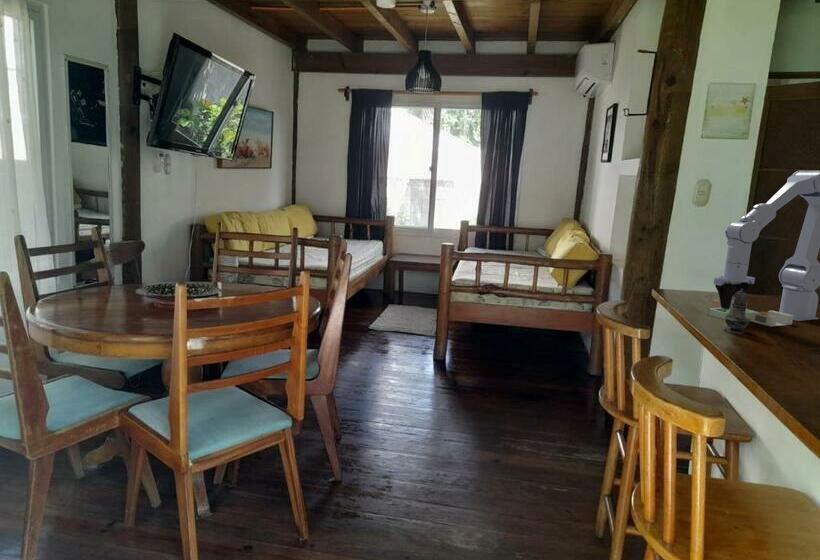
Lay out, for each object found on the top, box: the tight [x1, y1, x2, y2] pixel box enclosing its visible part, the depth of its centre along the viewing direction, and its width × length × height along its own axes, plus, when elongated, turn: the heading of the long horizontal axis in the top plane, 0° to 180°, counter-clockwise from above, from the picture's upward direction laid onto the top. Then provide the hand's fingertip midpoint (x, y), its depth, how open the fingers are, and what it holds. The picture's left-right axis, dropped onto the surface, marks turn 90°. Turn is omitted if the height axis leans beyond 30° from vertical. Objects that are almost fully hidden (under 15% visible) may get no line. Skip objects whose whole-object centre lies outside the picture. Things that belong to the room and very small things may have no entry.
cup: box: [710, 299, 748, 309], centre depth 165 cm, size 7×7×3 cm
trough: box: [706, 307, 757, 321], centre depth 157 cm, size 12×7×2 cm, turn 111°
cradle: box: [749, 310, 794, 327], centre depth 151 cm, size 9×6×4 cm, turn 111°
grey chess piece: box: [723, 288, 751, 336], centre depth 140 cm, size 6×6×12 cm
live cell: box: [723, 296, 734, 313], centre depth 156 cm, size 4×4×6 cm
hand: (730, 308), depth 156 cm, fingers open, 4 cm apart
